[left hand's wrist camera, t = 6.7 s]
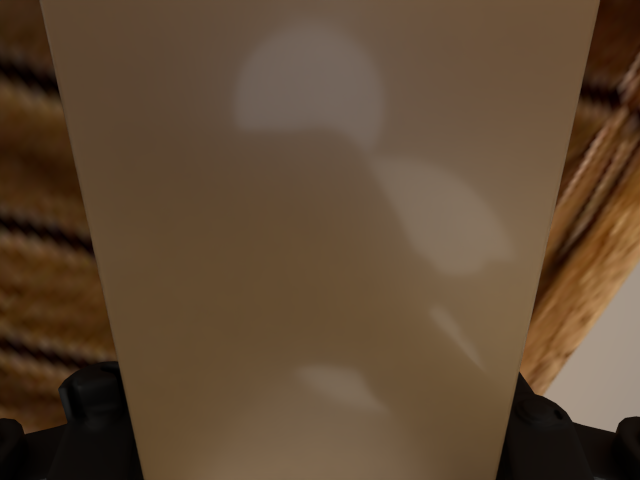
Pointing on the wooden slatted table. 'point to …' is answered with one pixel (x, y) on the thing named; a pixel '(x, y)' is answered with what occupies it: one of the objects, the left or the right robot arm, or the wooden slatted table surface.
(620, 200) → the wooden slatted table surface
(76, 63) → the bar
